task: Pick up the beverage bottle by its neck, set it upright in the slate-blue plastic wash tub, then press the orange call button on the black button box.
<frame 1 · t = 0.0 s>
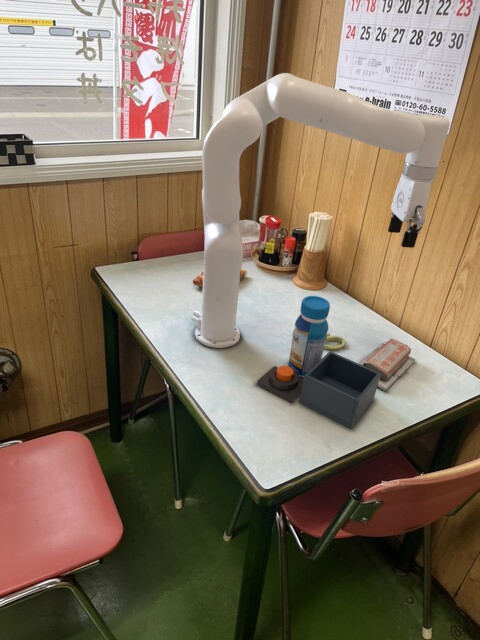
hand: (400, 239, 122), 31 cm above the table, tool pointing down, fingers open, 9 cm apart
key: (326, 339, 137), on the table
beverage bottle: (303, 369, 124), on the table
call button: (284, 373, 115), point 4 cm above the table, slide at 0.1 cm
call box: (282, 385, 117), on the table
croissant: (220, 283, 161), on the table
packaged product: (383, 368, 127), on the table
wash tub: (336, 400, 114), on the table
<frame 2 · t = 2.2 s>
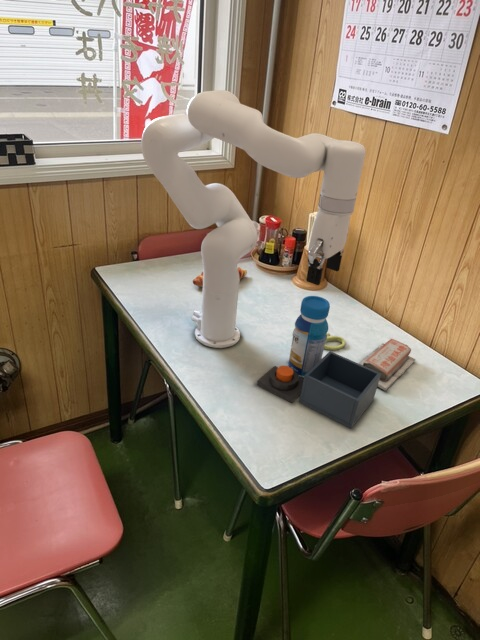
hand: (323, 275, 110), 27 cm above the table, tool pointing down, fingers open, 9 cm apart
nothing on the table moved.
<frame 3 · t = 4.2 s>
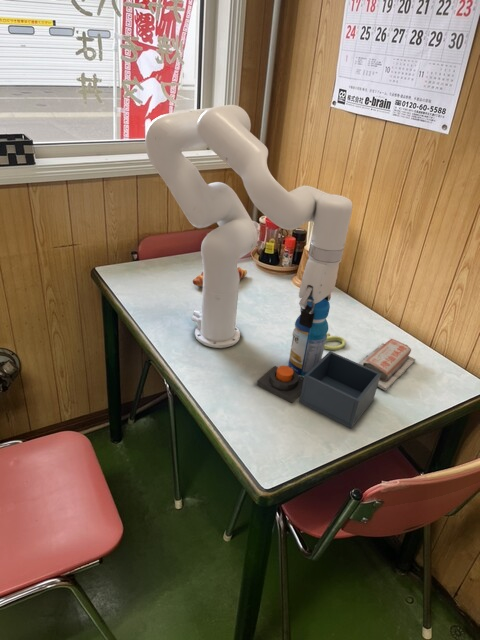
hand: (313, 319, 116), 15 cm above the table, tool pointing down, fingers closed on beverage bottle, 6 cm apart
beverage bottle: (303, 369, 124), on the table, touching gripper
everything else where it was.
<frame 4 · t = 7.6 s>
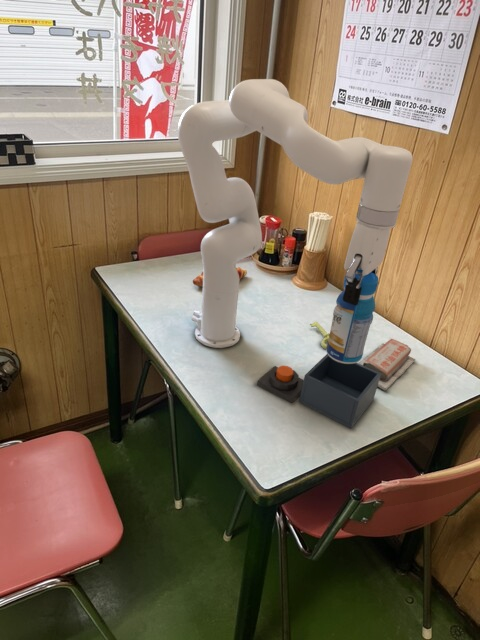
hand: (357, 295, 101), 28 cm above the table, tool pointing down, fingers closed on beverage bottle, 6 cm apart
beverage bottle: (343, 355, 109), point 13 cm above the table, touching gripper
everything else where it was.
when the fingers open (16 cm above the table, at t = 10.8 s): beverage bottle stays where it is, resting on wash tub.
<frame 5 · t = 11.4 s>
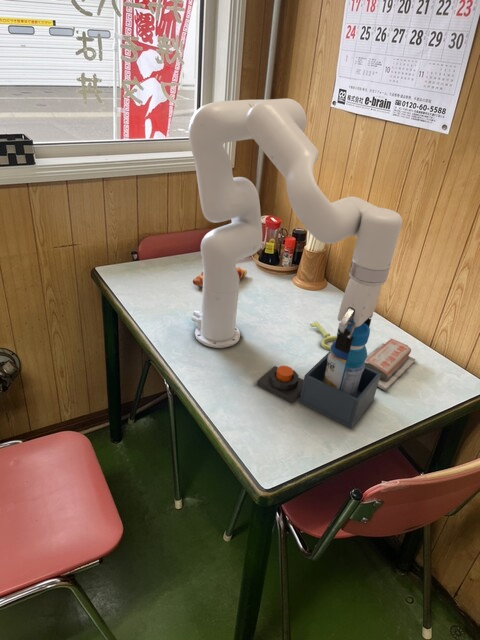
hand: (351, 340, 105), 17 cm above the table, tool pointing down, fingers open, 9 cm apart
beverage bottle: (337, 398, 114), point 1 cm above the table, touching wash tub
everything else where it was.
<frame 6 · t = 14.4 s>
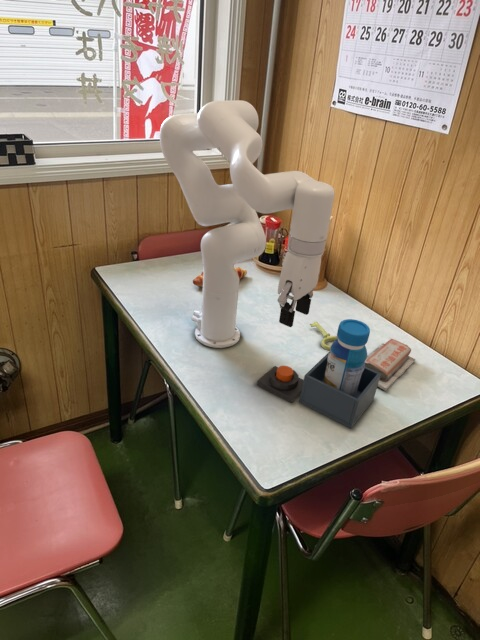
hand: (294, 317, 107), 20 cm above the table, tool pointing down, fingers open, 6 cm apart
nothing on the table moved.
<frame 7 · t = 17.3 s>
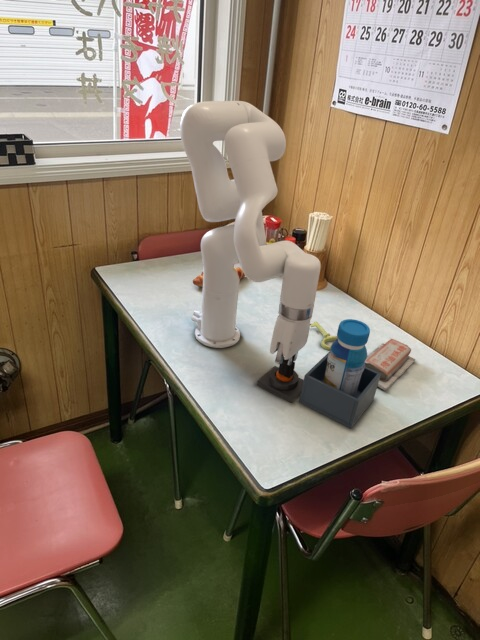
hand: (285, 374, 115), 4 cm above the table, tool pointing down, fingers closed
call button: (284, 377, 116), point 3 cm above the table, slide at -0.9 cm, touching gripper
everything else where it was.
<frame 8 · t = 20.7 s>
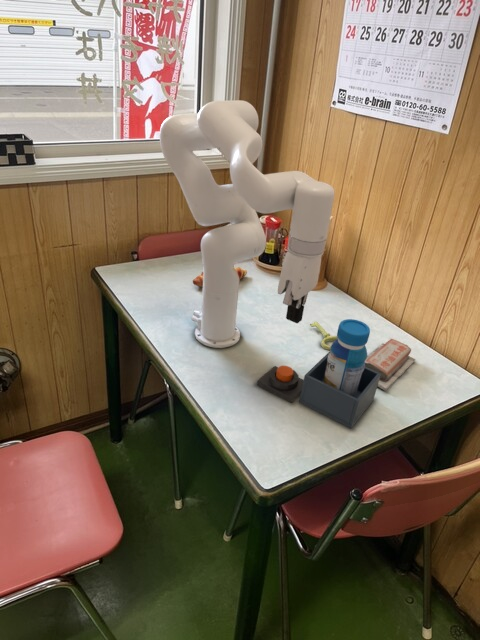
hand: (293, 319, 107), 19 cm above the table, tool pointing down, fingers closed
call button: (284, 373, 115), point 4 cm above the table, slide at 0.1 cm
everything else where it was.
at the end: beverage bottle inside the target area in the wash tub (0.1 cm from its centre), point 0.8 cm above the wash tub's base; beverage bottle tilted 0°; call button pushed in 1.1 cm at the most during the clip, back to where it started at the end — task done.
